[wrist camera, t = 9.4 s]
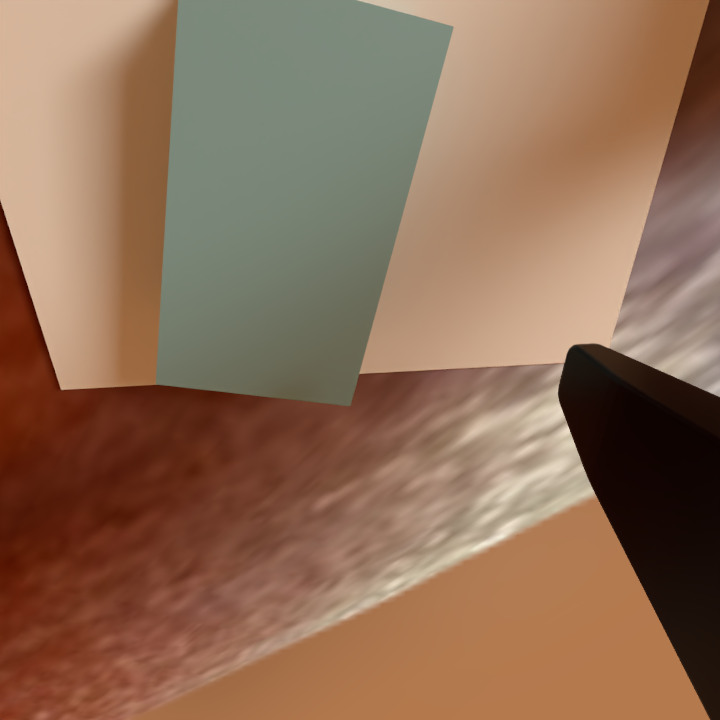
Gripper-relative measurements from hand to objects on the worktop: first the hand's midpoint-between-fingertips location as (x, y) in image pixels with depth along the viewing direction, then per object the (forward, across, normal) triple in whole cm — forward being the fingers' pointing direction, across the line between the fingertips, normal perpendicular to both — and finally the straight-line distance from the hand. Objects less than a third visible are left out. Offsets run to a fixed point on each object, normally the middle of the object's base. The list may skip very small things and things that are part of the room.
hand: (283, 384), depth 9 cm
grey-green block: (+10, 0, 0) cm, 10 cm away
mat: (+11, -2, 0) cm, 11 cm away
